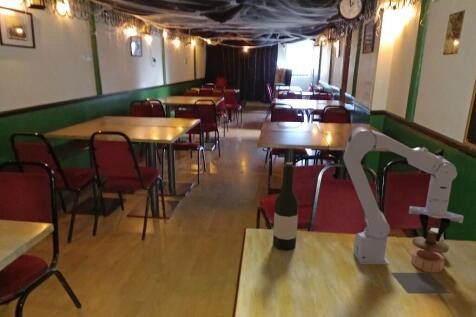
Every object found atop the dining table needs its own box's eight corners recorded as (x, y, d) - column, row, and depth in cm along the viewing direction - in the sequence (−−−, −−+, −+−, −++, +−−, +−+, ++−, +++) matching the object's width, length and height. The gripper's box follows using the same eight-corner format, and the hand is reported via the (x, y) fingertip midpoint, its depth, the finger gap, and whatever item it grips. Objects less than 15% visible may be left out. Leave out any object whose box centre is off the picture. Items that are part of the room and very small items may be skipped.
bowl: (420, 273, 106) (422, 262, 105) (405, 257, 114) (407, 248, 113) (448, 273, 106) (450, 262, 105) (432, 257, 115) (433, 248, 114)
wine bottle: (270, 239, 125) (274, 160, 118) (292, 239, 126) (297, 160, 119) (275, 251, 117) (279, 166, 110) (299, 250, 118) (304, 166, 111)
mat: (407, 294, 95) (407, 292, 95) (391, 273, 105) (391, 272, 105) (449, 294, 95) (450, 293, 95) (429, 273, 105) (429, 272, 105)
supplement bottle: (437, 249, 120) (441, 227, 118) (443, 256, 116) (447, 233, 114) (423, 248, 121) (426, 226, 119) (429, 255, 116) (432, 233, 114)
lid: (412, 247, 106) (414, 233, 105) (412, 237, 115) (414, 224, 114) (449, 255, 101) (452, 241, 100) (447, 244, 110) (449, 231, 109)
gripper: (411, 197, 104) (404, 238, 108) (467, 207, 98) (458, 249, 101) (411, 191, 111) (406, 229, 114) (464, 199, 104) (457, 240, 107)
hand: (431, 238), depth 108 cm, fingers closed on lid, 3 cm apart
